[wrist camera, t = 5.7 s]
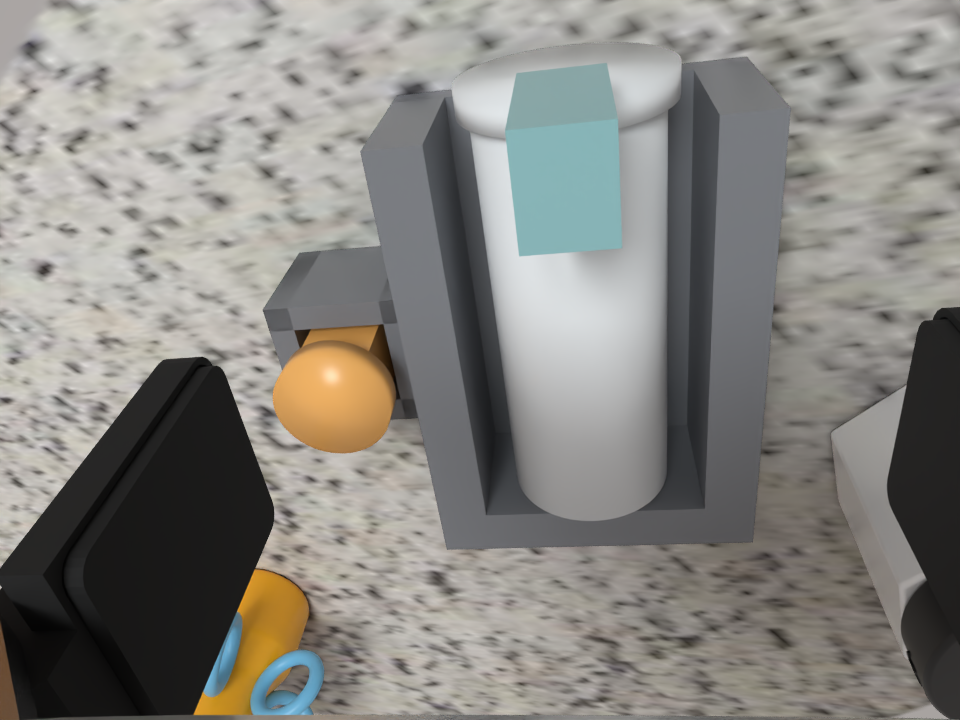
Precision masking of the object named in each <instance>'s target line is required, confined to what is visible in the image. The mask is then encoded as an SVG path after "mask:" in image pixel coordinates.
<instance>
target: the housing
mask: <svg viewBox="0 0 960 720" xmlns="http://www.w3.org/2000/svg"><path fill="white" fill-rule="evenodd" d="M790 110H791V108H790V106H789V105H788V104H787V103H786V102H785V101H784V99H783V98H782V97H781V96H780V95H779V94H778V92H777V91H776V90H775V89H774V88H773V87H772V85H771V84H770V83H769V82H768V81H767V80H766V78H765V77H764V76H763V75H762V74H761V73H760V71H759V70H758V69H757V68H756V67H755V66H754V64H753V63H752V62H751V61H750V60H749V59H748V57H739V58H731V59H722V60H713V61H704V62H695V63H686V64H681V97H680V99H679V101H678V102H677V103H676V104H675V105H674V106H673V107H672V108H670V109H668V302H667V476H666V480H665V483H664V485H663V487H662V489H661V491H660V492H659V493H658V494H657V496H656V497H655V498H654V499H653V500H652V501H650V502H649V503H648V504H647V505H645V506H644V507H642V508H640V509H638V510H637V511H635V512H633V513H630V514H627V515H625V516H622V517H618V518H614V519H609V520H601V521H579V520H571V519H567V518H562V517H559V516H556V515H553V514H551V513H549V512H546V511H544V510H543V509H541V508H539V507H538V506H536V505H535V504H534V503H533V502H531V501H530V500H529V499H528V497H527V496H526V495H525V494H524V492H523V491H522V489H521V487H520V485H519V482H518V477H517V470H516V463H515V455H514V448H513V441H512V434H511V426H510V419H509V412H508V405H507V397H506V390H505V383H504V375H503V368H502V361H501V354H500V346H499V339H498V332H497V325H496V317H495V310H494V303H493V295H492V288H491V281H490V274H489V266H488V259H487V252H486V244H485V237H484V230H483V223H482V215H481V208H480V201H479V194H478V186H477V179H476V172H475V164H474V157H473V150H472V143H471V135H470V131H468V130H466V129H464V128H463V127H461V126H460V125H459V124H458V123H457V121H456V117H455V110H454V103H453V96H452V90H444V91H435V92H426V93H417V94H408V95H399V96H396V98H395V99H394V101H393V102H392V104H391V105H390V107H389V108H388V110H387V111H386V113H385V115H384V116H383V118H382V119H381V121H380V122H379V124H378V125H377V127H376V128H375V130H374V131H373V133H372V134H371V136H370V137H369V139H368V140H367V142H366V144H365V145H364V147H363V148H362V150H361V151H360V152H361V157H362V162H363V166H364V171H365V175H366V180H367V185H368V189H369V194H370V198H371V203H372V207H373V212H374V217H375V221H376V226H377V230H378V235H379V240H380V244H381V246H377V247H365V248H353V249H341V250H328V251H316V252H304V253H299V254H298V256H297V257H296V259H295V260H294V262H293V263H292V265H291V267H290V268H289V270H288V271H287V273H286V274H285V276H284V277H283V279H282V281H281V282H280V284H279V285H278V287H277V288H276V290H275V292H274V293H273V295H272V296H271V298H270V299H269V301H268V302H267V304H266V306H265V307H264V309H263V312H264V315H265V318H266V321H267V324H268V328H269V331H270V334H271V337H272V340H273V343H274V346H275V349H276V352H277V355H278V358H279V361H280V365H281V368H282V370H283V368H284V366H285V365H286V363H287V361H288V360H289V358H290V357H291V356H292V355H293V353H295V352H296V351H297V350H298V349H300V348H301V347H302V346H303V344H304V342H305V340H306V338H307V336H308V334H309V332H310V331H311V329H320V328H335V327H349V326H364V325H379V324H384V329H385V333H386V337H387V342H388V346H389V350H390V355H391V359H392V363H393V368H394V372H395V376H394V379H393V381H394V384H395V389H396V400H395V405H394V408H393V412H392V415H391V419H411V418H418V419H419V423H420V428H421V432H422V437H423V442H424V446H425V451H426V455H427V460H428V465H429V469H430V474H431V478H432V483H433V488H434V492H435V497H436V501H437V506H438V511H439V515H440V520H441V524H442V529H443V534H444V538H445V543H446V547H447V550H450V549H492V548H533V547H575V546H617V545H659V544H701V543H743V542H753V535H754V523H755V512H756V500H757V489H758V477H759V466H760V454H761V443H762V431H763V420H764V409H765V397H766V386H767V374H768V363H769V351H770V340H771V328H772V317H773V305H774V294H775V282H776V271H777V259H778V248H779V237H780V225H781V214H782V202H783V191H784V179H785V168H786V156H787V145H788V133H789V122H790ZM391 419H390V420H391Z"/></svg>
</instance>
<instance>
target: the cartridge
mask: <svg viewBox="0 0 960 720" xmlns="http://www.w3.org/2000/svg"><path fill="white" fill-rule="evenodd" d="M681 62H682V61H681V57H680V56H679V55H678V54H677V53H676V52H674V51H672V50H670V49H667V48H664V47H660V46H655V45H649V44H640V43H621V42H605V43H585V44H573V45H563V46H556V47H549V48H542V49H536V50H531V51H526V52H521V53H517V54H512V55H509V56H505V57H501V58H498V59H494V60H491V61H488V62H485V63H482V64H480V65H477V66H475V67H473V68H470V69H469V70H467V71H465V72H463V73H462V74H460V75H459V76H457V77H456V78H455V79H454V81H453V82H452V85H451V89H452V96H453V103H454V110H455V117H456V121H457V123H458V124H459V125H460V126H461V127H463V128H464V129H466V130H468V131H470V135H471V143H472V150H473V157H474V164H475V172H476V179H477V186H478V194H479V201H480V208H481V215H482V223H483V230H484V237H485V244H486V252H487V259H488V266H489V274H490V281H491V288H492V295H493V303H494V310H495V317H496V325H497V332H498V339H499V346H500V354H501V361H502V368H503V375H504V383H505V390H506V397H507V405H508V412H509V419H510V426H511V434H512V441H513V448H514V455H515V463H516V470H517V477H518V482H519V485H520V487H521V489H522V491H523V492H524V494H525V495H526V496H527V497H528V499H529V500H530V501H531V502H533V503H534V504H535V505H536V506H538V507H539V508H541V509H543V510H544V511H546V512H549V513H551V514H553V515H556V516H559V517H562V518H567V519H571V520H579V521H601V520H609V519H614V518H618V517H622V516H625V515H627V514H630V513H633V512H635V511H637V510H638V509H640V508H642V507H644V506H645V505H647V504H648V503H649V502H650V501H652V500H653V499H654V498H655V497H656V496H657V494H658V493H659V492H660V491H661V489H662V487H663V485H664V483H665V480H666V476H667V302H668V109H670V108H672V107H673V106H674V105H675V104H676V103H677V102H678V101H679V99H680V97H681Z"/></svg>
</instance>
